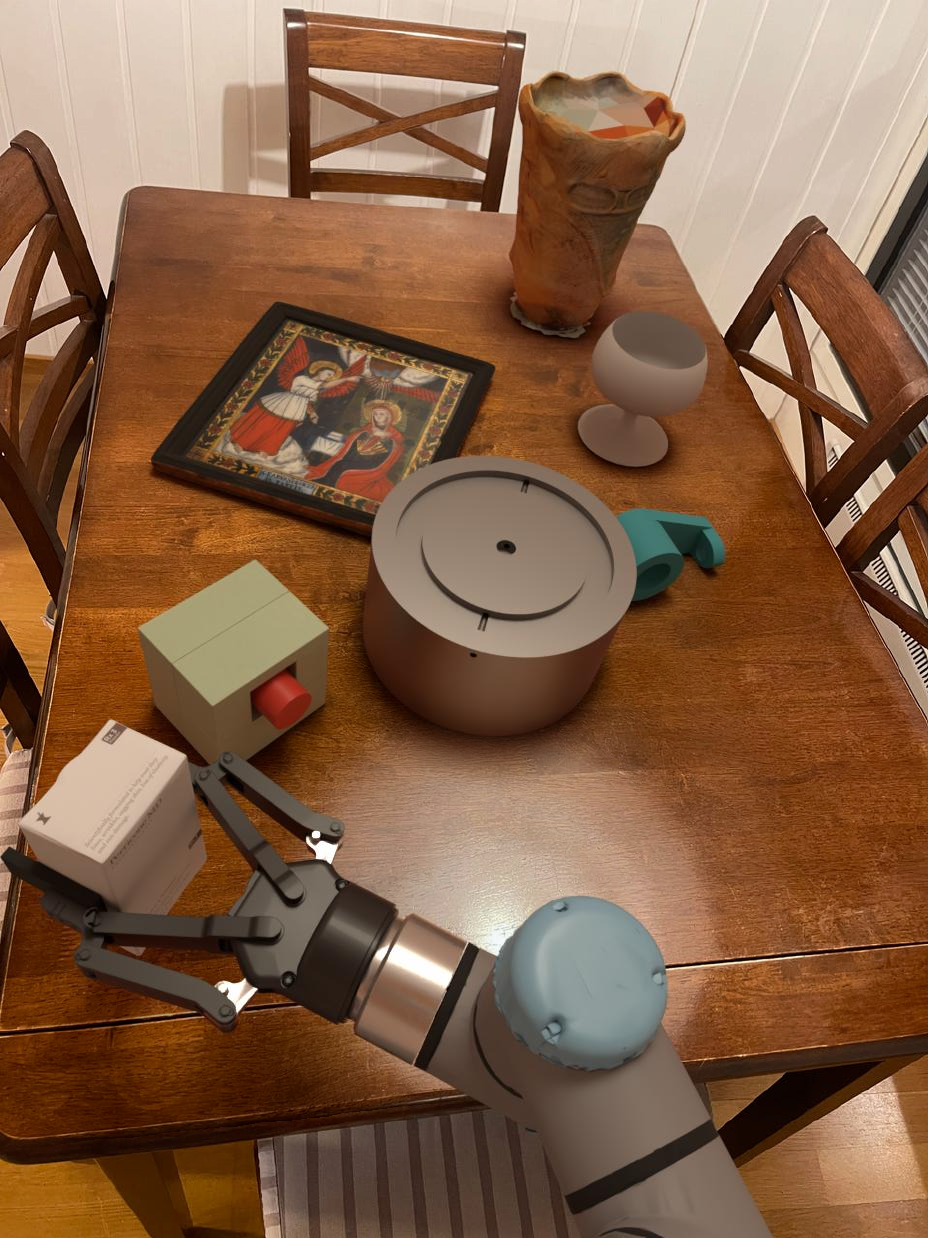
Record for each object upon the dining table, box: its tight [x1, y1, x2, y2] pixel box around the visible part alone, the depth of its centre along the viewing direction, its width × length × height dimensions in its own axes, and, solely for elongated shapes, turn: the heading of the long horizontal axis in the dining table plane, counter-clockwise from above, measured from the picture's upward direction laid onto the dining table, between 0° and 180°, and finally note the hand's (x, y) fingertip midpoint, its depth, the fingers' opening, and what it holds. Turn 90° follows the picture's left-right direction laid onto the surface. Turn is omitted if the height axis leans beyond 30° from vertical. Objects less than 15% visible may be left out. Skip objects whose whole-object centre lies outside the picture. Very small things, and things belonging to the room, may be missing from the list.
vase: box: [508, 70, 687, 339], centre depth 121 cm, size 21×20×30 cm
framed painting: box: [150, 301, 496, 538], centre depth 108 cm, size 38×35×3 cm
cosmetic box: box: [17, 719, 208, 957], centre depth 56 cm, size 8×6×15 cm
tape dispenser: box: [615, 508, 726, 602], centre depth 99 cm, size 7×15×8 cm, turn 111°
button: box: [250, 669, 312, 729], centre depth 75 cm, size 6×4×4 cm
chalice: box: [577, 310, 709, 468], centre depth 110 cm, size 14×14×15 cm
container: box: [362, 455, 637, 737], centre depth 88 cm, size 25×25×13 cm
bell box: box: [137, 559, 330, 766], centre depth 79 cm, size 10×12×12 cm
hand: (60, 802), depth 56 cm, fingers closed on cosmetic box, 8 cm apart
